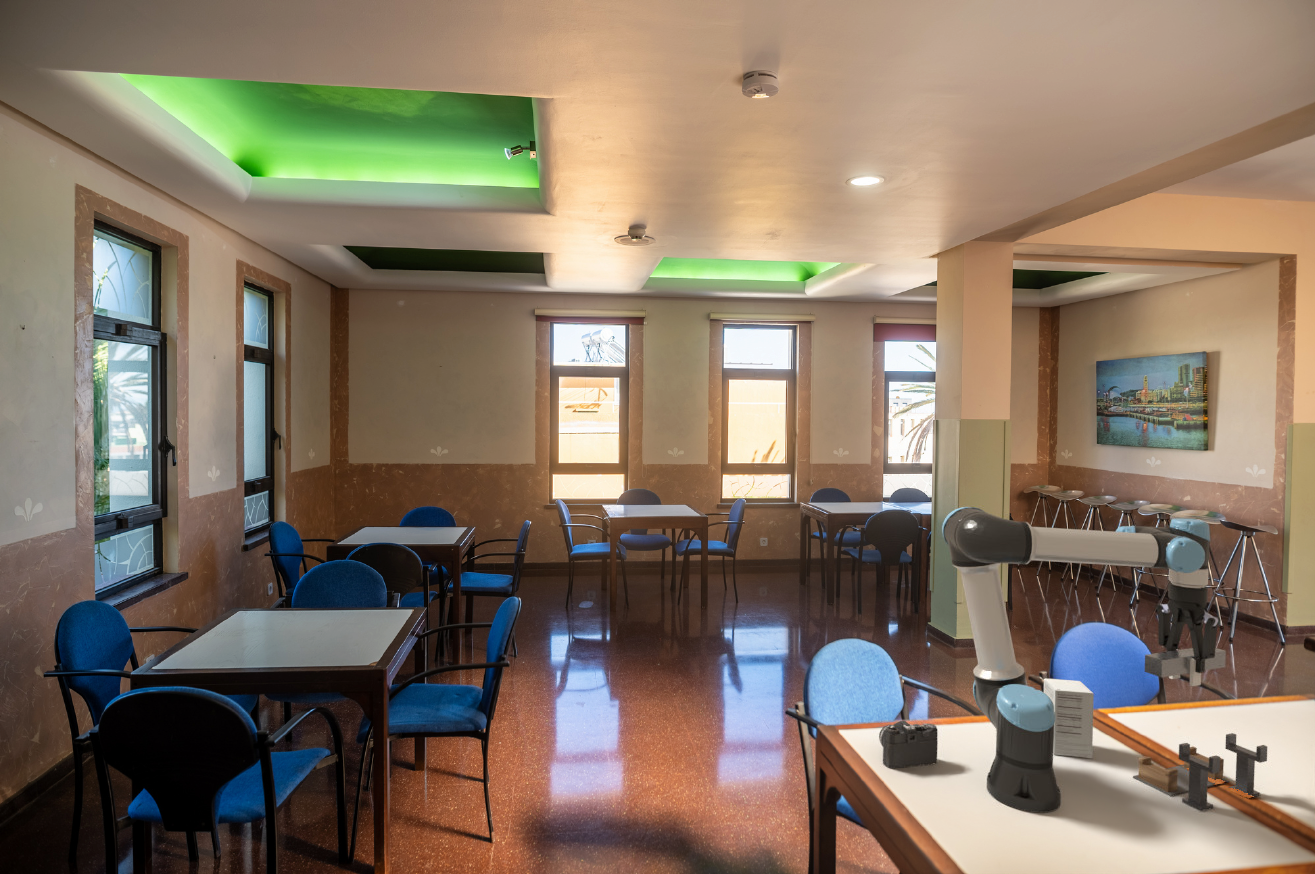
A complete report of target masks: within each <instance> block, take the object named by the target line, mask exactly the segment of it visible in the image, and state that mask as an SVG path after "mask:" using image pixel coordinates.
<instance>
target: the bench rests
mask: <svg viewBox="0 0 1315 874" xmlns="http://www.w3.org/2000/svg"><path fill="white" fill-rule="evenodd" d="M1190 755H1191V756H1194V757H1196V758H1198V759H1201V760H1203V761H1205V762H1208V763H1209V756H1205V755H1203V754H1200V753H1199V752H1197V747H1196V746H1190ZM1224 760H1225V759H1223V758H1221V757H1220V772H1219V773H1215V774H1211V773H1209V772H1208V777H1209V778H1212V779H1214V780H1216V779H1221V780H1223V781H1225V782H1228V783H1230V780H1228V779H1227V778H1224V766H1225V764H1224ZM1183 762H1184V761H1183ZM1183 766H1184V767H1183ZM1189 766H1190V764H1189V763H1186V762H1184V763H1183V764H1181V765H1175V766H1172V767H1167V768H1164V767H1161V766H1160V765H1157V764H1155V763H1152V757H1151V756H1149V755H1148V756H1142V757H1139V759H1138V774H1136V775H1132V779H1135V780H1137V781H1139V782H1141V783H1142V784H1144V785H1147V786H1148V787H1151V788H1153V789H1154V790H1157V791H1159V792H1160V793H1163V794H1165V795H1167V796H1169V797H1175V796H1178V795H1182V794H1188V793H1189V771H1188V770H1187V769H1185V768H1189ZM1214 784H1215V783H1211V782H1209V781H1208V785H1207V789H1208V788H1212V787H1214V786H1213V785H1214Z"/></svg>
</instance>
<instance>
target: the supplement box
mask: <svg viewBox="0 0 1315 874" xmlns="http://www.w3.org/2000/svg"><path fill="white" fill-rule="evenodd" d="M1043 693H1045V694H1046V695H1047V696H1048V697H1049V698H1050V699H1051V700H1052V702H1053V704H1054V712H1055V723H1054V748H1053V755H1054V756H1055V755H1056V756H1066V757H1067V756H1068V757H1073V758H1074V757H1075V758H1076V757H1077V758H1085V759H1086V758H1087V759H1092V758H1093V741H1094V740H1093V739H1094V737H1093V733H1094V732H1093V729H1094V697H1095V696H1094V695H1095V693H1094V692H1093V691H1091V690H1090V689H1089V688H1088V687H1087V686H1086V685H1085V684H1084V683H1083V682H1081V680H1072V679H1071V680H1069V679H1058V678H1044V679H1043Z"/></svg>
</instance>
